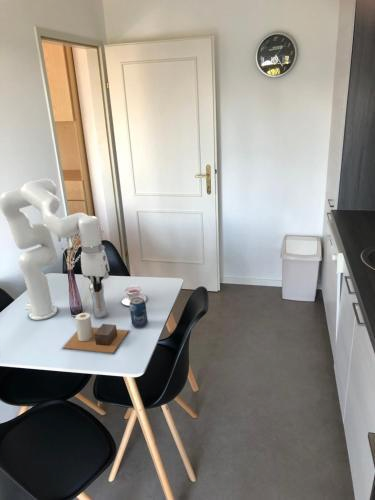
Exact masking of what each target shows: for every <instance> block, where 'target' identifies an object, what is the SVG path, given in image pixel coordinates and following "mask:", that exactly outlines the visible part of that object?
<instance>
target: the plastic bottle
mask: <svg viewBox="0 0 375 500" xmlns="http://www.w3.org/2000/svg"><path fill="white" fill-rule="evenodd" d="M96 277H97V276H96ZM101 283H102V289H101V290H100V291H99V292H95V291H94V288H93V283H92V282H91V281H90V283H89V286H88V290H89V293H90V296H91V301H92V314H93V316H94V317H96V318H100V319H101V318H104V317H106V316H107V315H108V313H109V308H108V306H107V303H106V300H105V286H104V283H103V282H102V281H101Z"/></svg>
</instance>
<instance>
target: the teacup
mask: <svg viewBox="0 0 375 500" xmlns="http://www.w3.org/2000/svg"><path fill="white" fill-rule="evenodd" d="M124 292H125V294H126V296H124V297H123V298H122V299H121V304H122V305H123V306H127V307H130V301H131V300H132V299H133V298H138V297H140V298H143V299H144V301H145V302H146V301H147V296H145V295H144V294H140V293H141V292H142V287H141V286H139V285H130V286H128V287H126V288H125V290H124Z"/></svg>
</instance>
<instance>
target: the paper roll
mask: <svg viewBox="0 0 375 500" xmlns="http://www.w3.org/2000/svg"><path fill="white" fill-rule="evenodd" d="M75 325H76V333H78V339H79V340H80V341H88V340H90V339H92V338H93V333H92V328H93V325H92V315H91V314H90V313H89V312H81V313H77V315H75Z"/></svg>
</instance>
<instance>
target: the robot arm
mask: <svg viewBox="0 0 375 500" xmlns="http://www.w3.org/2000/svg"><path fill="white" fill-rule="evenodd" d="M57 191H58V189H57V185H56V184H55V182H54V181H52V179H50V178H47V177H46V178H44V177H43V178H40V179H35V180H32V181H28V182H26V183H24V184H23V185H22V186H21V187H17V188H13V189H10V190H9V189H8V190H7V191H4V192H3V193H1V195H0V211H1V212H2V214H3V216H4V217H5V219H6V221H7V223H8V226H9V229H10V231H11V235H12V237H13V240H14V243H15V245H16V246H17V247H16V248H18V249H19V250H27V251H26V252H24V253H22V254H21V255H20V256H19V257H18V260H17V261H18V266H19V269H20V271H21V272H22V275H23V279H24V282H25V286H26V291H27V295H28V300H29V303H25V307H24V310H25V311H29V312H28V316H29V319H31V320H34V321H42V320H46V319H49V318H51V317H53V316H55V315H56V314H57V313H58V308H57V306H56V305H53V300H52V296H51V292H50V291H51V290H50V285H49V281H48V277H47V275H46V274H45V273H43V272H42V271H41V270H42V269H45V268H47V267H49V266H51V265H53V264H55V263H56V262H57V261H58V253H57V249H56V246H55V243H54V238H53V237H52V234H54V235H55V236H56V237H59V238H62V239H67V238H70V237H72V236H74V235H77V234H79V238H80V244H81V245H80V246H81V252H80V254H81V255H80V267H81V273H82V276H83V277H84V278H86V279H89V281H90V283H91V282H92V283H93V288H94V291H95V292H99V291H100V290H101V289H102V284H103V282H102V281H103V280H106V279H109V278H110V275H109V272H110V265H109V260H108V256H107V253H106V251H105V249H106V246H105V245H103V243H102V237H101V230H100V223H99V218H98V217H96V216H95V215H88V214H86V213H85V212H76V213H75V212H74V213H73V214H70V215H66V216H64V217H57V216H56V215H55V214H56V213H57V211H58V210H59V208H60V205H61V204H60V203H61V201H60V199H59V197H57V195H56V194H57ZM30 206H33V207H34V208H35V209H37V210H38V211H39V212H41V213H42V221H43V222H35V223H33V224H31V221H30V218H29V215H27V213H26V212H25V211H24V210H22V209H24V208H26V207H30ZM51 233H52V234H51ZM37 245H38V246H39V247H36V246H37ZM33 247H36V248H33ZM30 248H33V249H31V250H28V249H30ZM96 276H97V277H96ZM101 282H102V283H101Z"/></svg>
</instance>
